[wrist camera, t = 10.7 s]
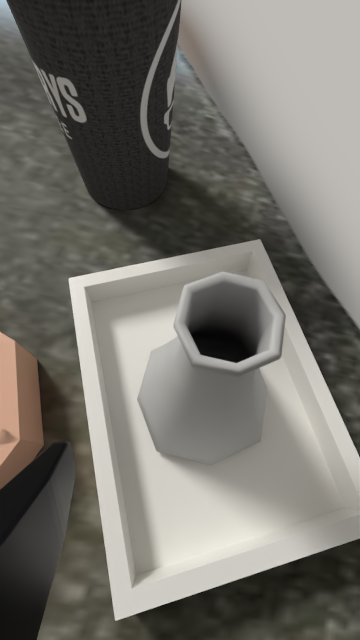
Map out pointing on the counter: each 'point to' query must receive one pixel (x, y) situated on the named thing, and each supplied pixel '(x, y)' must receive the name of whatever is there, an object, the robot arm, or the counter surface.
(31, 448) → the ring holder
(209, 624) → the counter surface
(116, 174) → the coffee cup
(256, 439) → the flask
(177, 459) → the tray
